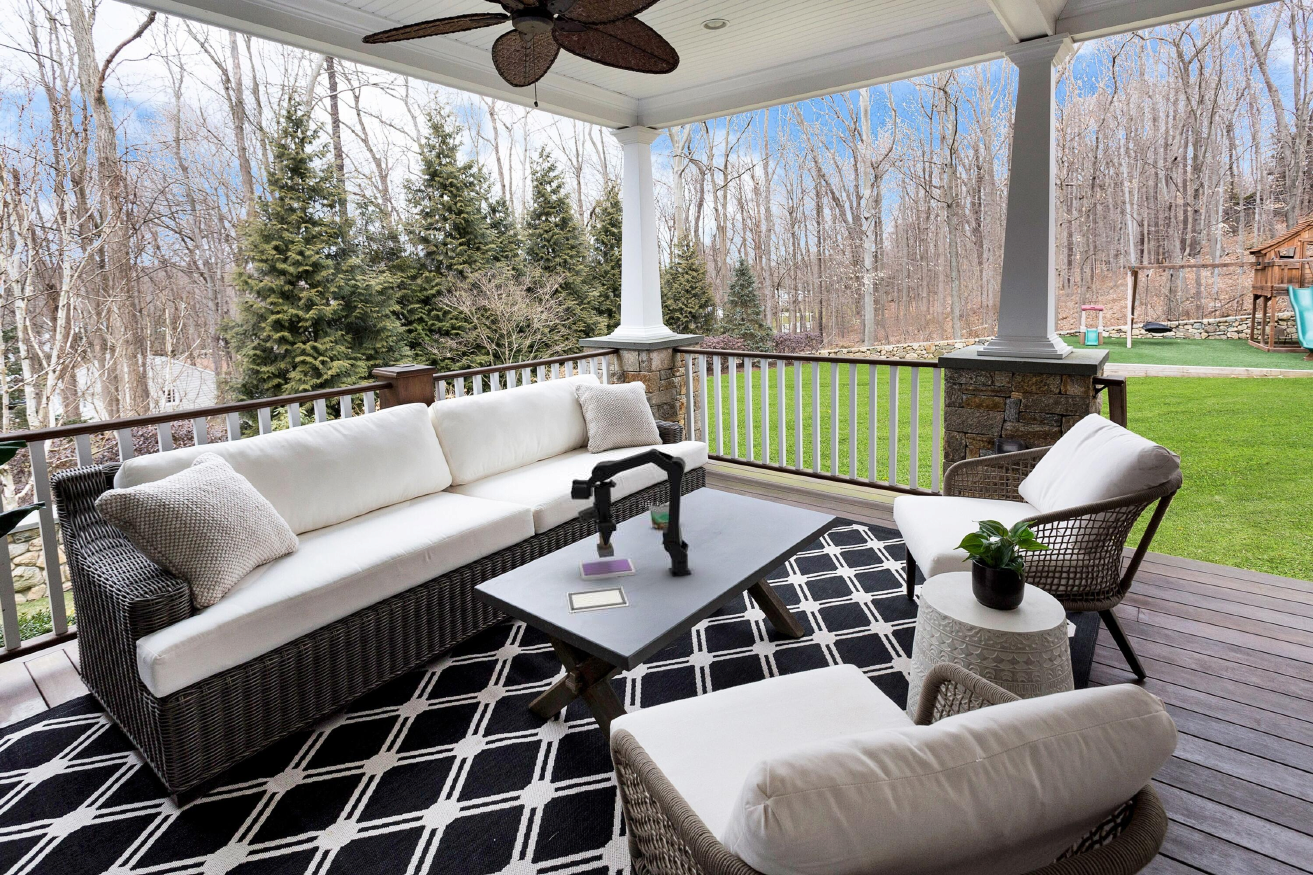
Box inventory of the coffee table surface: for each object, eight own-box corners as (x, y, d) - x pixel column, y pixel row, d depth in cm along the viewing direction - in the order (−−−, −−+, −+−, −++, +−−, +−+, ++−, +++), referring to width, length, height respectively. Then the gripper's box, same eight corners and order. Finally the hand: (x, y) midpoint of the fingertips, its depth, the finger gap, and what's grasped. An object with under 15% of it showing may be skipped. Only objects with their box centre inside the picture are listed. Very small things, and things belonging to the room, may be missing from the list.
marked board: (566, 593, 220) (566, 592, 220) (622, 587, 224) (621, 585, 224) (569, 613, 207) (569, 611, 207) (628, 606, 210) (628, 604, 210)
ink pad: (579, 567, 242) (578, 562, 241) (629, 561, 245) (629, 557, 245) (582, 580, 230) (582, 576, 230) (635, 574, 234) (635, 570, 233)
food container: (655, 532, 274) (654, 508, 272) (649, 528, 279) (648, 504, 277) (683, 528, 278) (682, 504, 276) (677, 523, 284) (676, 500, 282)
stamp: (597, 550, 239) (595, 525, 237) (611, 548, 240) (610, 524, 238) (599, 557, 233) (598, 532, 231) (614, 556, 233) (612, 530, 232)
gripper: (576, 494, 240) (578, 536, 243) (581, 509, 222) (584, 555, 225) (608, 491, 242) (610, 533, 245) (615, 506, 224) (617, 552, 227)
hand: (605, 543), depth 236 cm, fingers closed on stamp, 4 cm apart
